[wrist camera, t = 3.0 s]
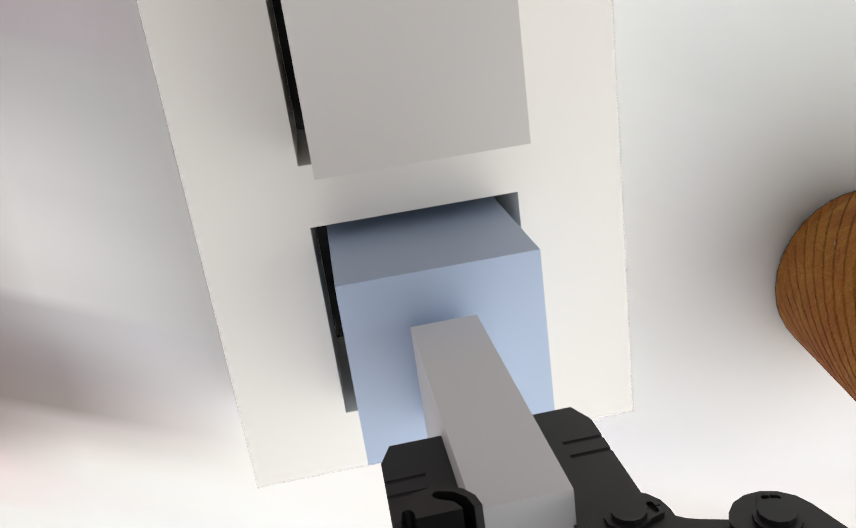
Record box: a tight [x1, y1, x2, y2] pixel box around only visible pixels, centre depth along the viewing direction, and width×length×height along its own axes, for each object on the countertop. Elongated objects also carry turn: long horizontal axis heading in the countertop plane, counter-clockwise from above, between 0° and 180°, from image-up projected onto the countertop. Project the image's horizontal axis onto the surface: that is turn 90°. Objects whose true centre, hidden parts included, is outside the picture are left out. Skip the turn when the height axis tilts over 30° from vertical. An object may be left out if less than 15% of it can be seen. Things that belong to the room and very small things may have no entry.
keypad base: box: [136, 0, 633, 488], centre depth 22 cm, size 11×23×5 cm, turn 8°
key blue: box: [327, 196, 555, 465], centre depth 21 cm, size 5×5×6 cm
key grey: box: [281, 0, 531, 180], centre depth 19 cm, size 5×5×6 cm
